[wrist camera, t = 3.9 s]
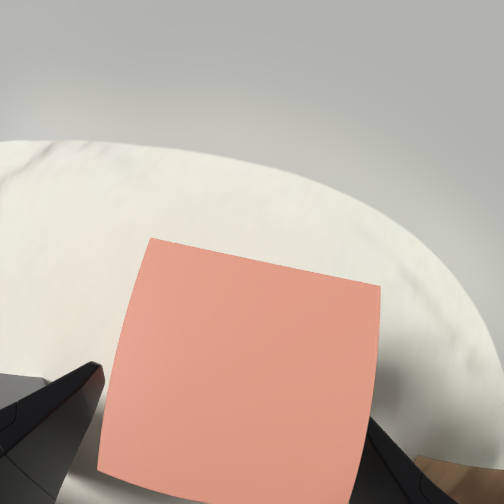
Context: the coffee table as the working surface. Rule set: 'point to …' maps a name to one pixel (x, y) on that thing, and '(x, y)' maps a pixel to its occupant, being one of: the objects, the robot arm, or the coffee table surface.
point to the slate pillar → (17, 387)
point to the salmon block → (240, 380)
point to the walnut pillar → (464, 481)
